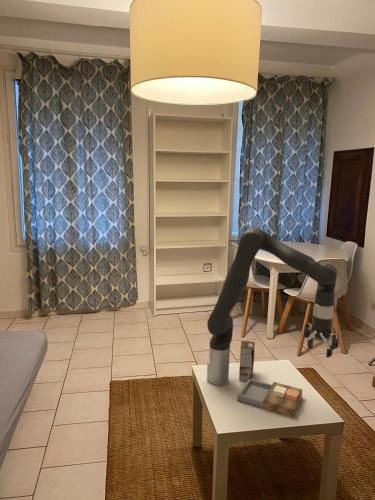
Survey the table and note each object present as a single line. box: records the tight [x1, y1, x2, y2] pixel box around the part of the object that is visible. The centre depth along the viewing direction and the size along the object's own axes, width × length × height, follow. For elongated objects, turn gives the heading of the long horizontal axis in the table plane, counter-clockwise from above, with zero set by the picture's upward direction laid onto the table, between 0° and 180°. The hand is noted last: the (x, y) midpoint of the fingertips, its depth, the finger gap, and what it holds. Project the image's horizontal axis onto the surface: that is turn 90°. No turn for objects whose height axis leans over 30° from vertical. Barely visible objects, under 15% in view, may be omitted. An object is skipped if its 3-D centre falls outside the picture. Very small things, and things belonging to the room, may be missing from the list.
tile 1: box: [273, 385, 287, 398], centre depth 162 cm, size 4×4×2 cm
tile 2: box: [285, 389, 299, 401], centre depth 160 cm, size 4×4×2 cm
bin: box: [237, 378, 273, 410], centre depth 167 cm, size 11×15×3 cm
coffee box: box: [238, 340, 256, 382], centre depth 182 cm, size 9×6×16 cm
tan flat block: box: [262, 381, 303, 419], centre depth 162 cm, size 12×16×4 cm
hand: (319, 352), depth 155 cm, fingers open, 8 cm apart
